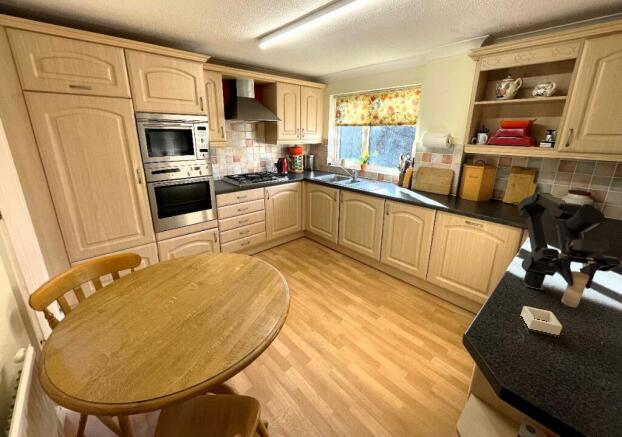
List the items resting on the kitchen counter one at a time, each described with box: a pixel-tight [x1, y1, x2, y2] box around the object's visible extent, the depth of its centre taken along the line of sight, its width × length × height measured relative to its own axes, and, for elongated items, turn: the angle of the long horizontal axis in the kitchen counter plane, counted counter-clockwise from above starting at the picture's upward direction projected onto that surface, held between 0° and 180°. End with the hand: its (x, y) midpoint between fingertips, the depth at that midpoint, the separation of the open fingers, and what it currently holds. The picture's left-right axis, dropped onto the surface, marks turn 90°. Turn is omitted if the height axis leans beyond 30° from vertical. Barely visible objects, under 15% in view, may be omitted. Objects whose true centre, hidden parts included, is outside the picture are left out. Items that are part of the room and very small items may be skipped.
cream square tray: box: [520, 305, 563, 336], centre depth 79 cm, size 7×7×4 cm
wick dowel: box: [560, 271, 589, 308], centre depth 79 cm, size 4×4×10 cm
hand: (579, 287), depth 77 cm, fingers closed on wick dowel, 4 cm apart
